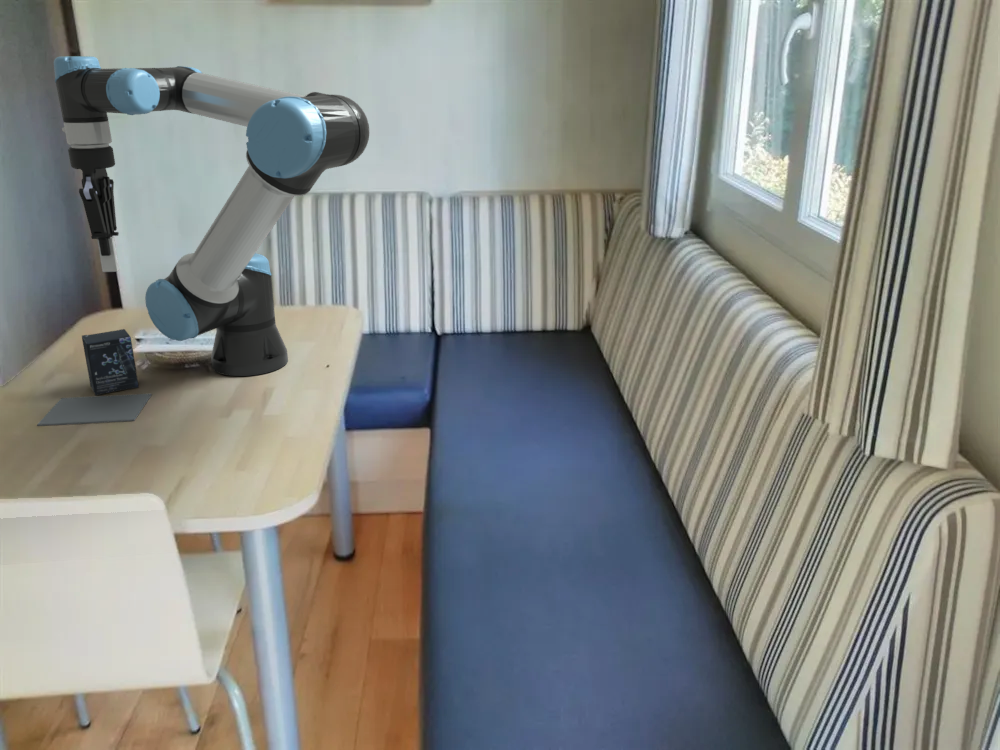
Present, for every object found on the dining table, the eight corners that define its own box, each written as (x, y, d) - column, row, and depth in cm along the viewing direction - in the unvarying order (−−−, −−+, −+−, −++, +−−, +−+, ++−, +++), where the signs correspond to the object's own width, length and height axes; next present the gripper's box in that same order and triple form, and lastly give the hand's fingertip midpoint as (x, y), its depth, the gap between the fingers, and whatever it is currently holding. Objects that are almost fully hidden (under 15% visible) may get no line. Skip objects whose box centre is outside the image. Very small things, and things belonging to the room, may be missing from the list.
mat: (151, 395, 159) (151, 393, 159) (134, 420, 148) (133, 419, 148) (61, 399, 157) (61, 397, 157) (37, 426, 146) (37, 424, 146)
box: (95, 396, 159) (85, 343, 155) (90, 387, 163) (80, 335, 159) (139, 388, 163) (131, 335, 159) (133, 379, 167) (124, 328, 163)
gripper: (80, 142, 161) (101, 263, 170) (55, 149, 149) (79, 280, 158) (121, 141, 162) (140, 262, 171) (100, 149, 150) (121, 278, 159)
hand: (111, 270), depth 164 cm, fingers closed
